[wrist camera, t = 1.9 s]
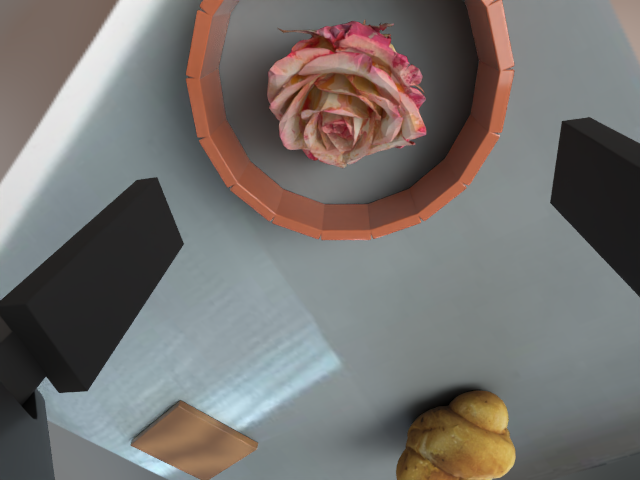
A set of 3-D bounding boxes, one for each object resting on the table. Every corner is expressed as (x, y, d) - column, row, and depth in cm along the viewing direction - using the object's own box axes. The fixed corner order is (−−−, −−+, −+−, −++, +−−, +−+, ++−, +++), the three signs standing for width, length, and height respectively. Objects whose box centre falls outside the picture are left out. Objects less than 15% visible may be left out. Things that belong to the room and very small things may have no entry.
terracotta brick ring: (186, 164, 30) (165, 186, 26) (249, -149, 20) (230, -177, 17) (407, 243, 32) (414, 273, 29) (552, -3, 23) (588, -2, 20)
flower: (277, -43, 21) (229, 68, 18) (457, -37, 19) (436, 87, 16) (304, 93, 30) (274, 182, 27) (429, 106, 28) (412, 203, 25)
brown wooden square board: (132, 439, 49) (129, 445, 48) (180, 399, 44) (177, 406, 44) (207, 475, 53) (205, 482, 52) (258, 442, 48) (257, 449, 47)
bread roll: (466, 367, 39) (491, 446, 32) (534, 406, 42) (571, 487, 35) (382, 428, 45) (388, 506, 38) (446, 460, 48) (463, 538, 41)
